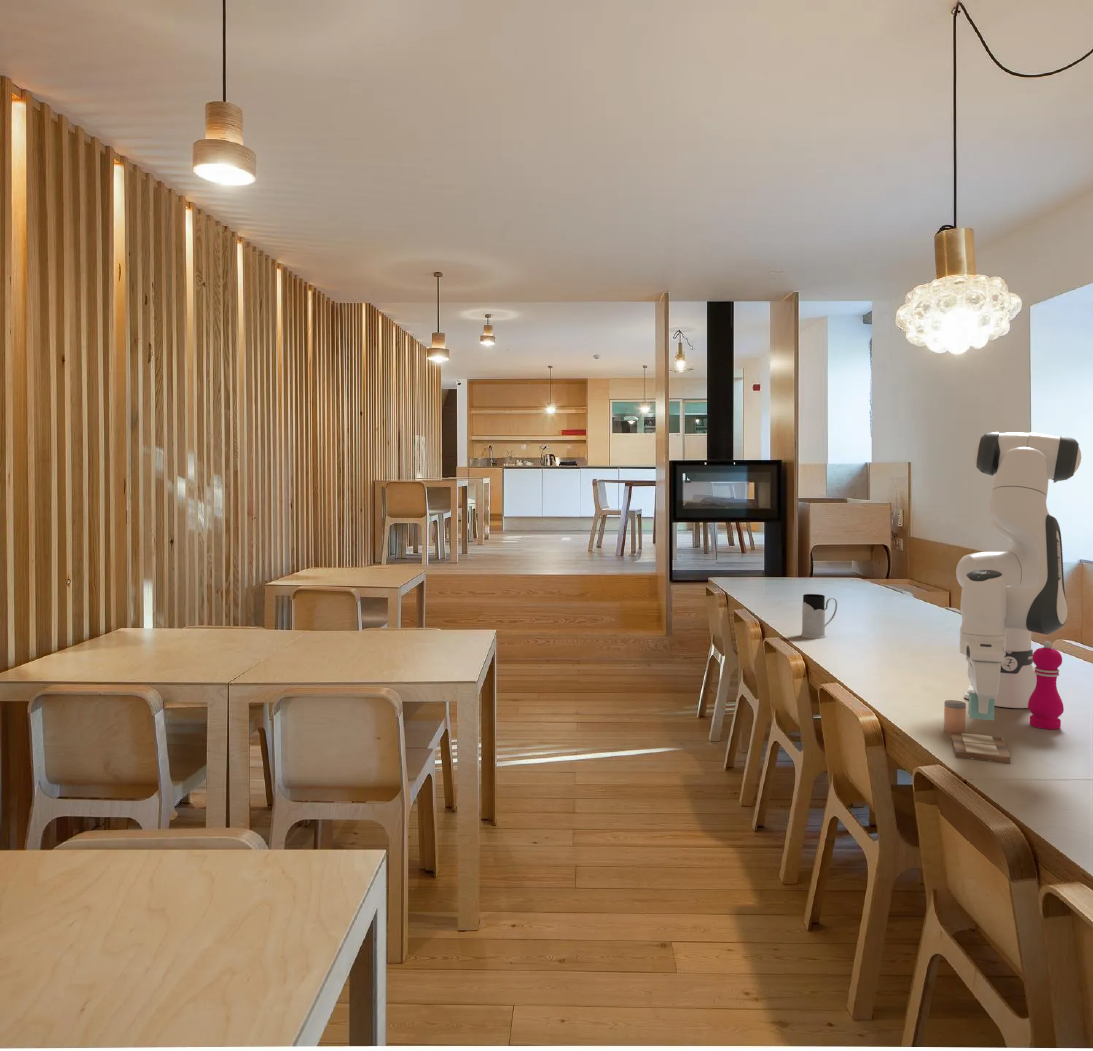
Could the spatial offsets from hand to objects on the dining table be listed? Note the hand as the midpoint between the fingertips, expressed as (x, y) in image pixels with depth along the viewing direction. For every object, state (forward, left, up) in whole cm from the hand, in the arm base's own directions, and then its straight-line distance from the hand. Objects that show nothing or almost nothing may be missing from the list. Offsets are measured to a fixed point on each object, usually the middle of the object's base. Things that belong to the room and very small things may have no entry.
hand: (981, 709), depth 182 cm
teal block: (0, 0, -2) cm, 2 cm away
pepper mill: (-22, +16, -8) cm, 28 cm away
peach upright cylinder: (-9, -4, -8) cm, 13 cm away
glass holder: (-118, -41, -8) cm, 125 cm away
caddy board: (+3, 0, -8) cm, 9 cm away
